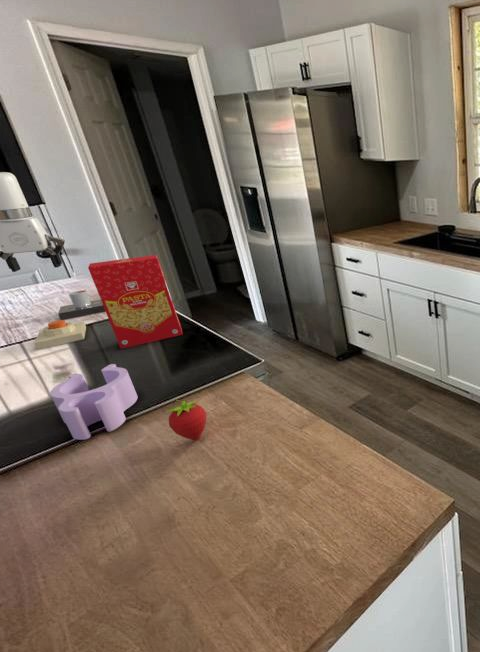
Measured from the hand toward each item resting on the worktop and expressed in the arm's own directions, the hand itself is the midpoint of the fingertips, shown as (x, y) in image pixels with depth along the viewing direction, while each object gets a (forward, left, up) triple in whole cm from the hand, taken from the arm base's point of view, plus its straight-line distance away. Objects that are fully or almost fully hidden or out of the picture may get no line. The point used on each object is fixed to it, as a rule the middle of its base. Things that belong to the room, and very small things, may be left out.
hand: (37, 268), depth 131 cm
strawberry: (+26, -102, -20) cm, 107 cm away
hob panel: (+5, +10, -20) cm, 22 cm away
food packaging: (+22, -35, -20) cm, 46 cm away
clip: (+11, -77, -20) cm, 80 cm away
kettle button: (+1, -15, -16) cm, 22 cm away
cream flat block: (+1, -15, -20) cm, 25 cm away
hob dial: (+5, +10, -17) cm, 20 cm away
